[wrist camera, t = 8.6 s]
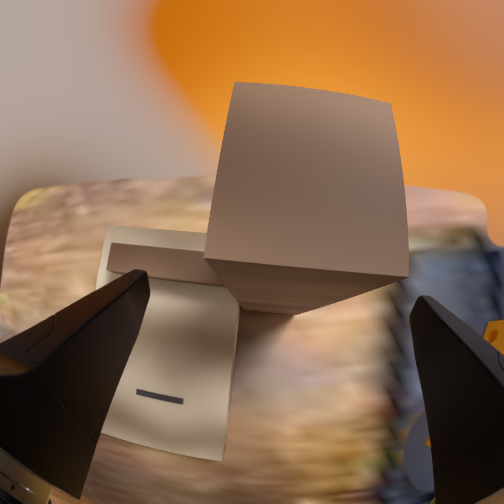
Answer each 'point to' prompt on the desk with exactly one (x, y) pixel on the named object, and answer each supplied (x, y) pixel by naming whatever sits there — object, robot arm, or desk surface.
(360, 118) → the tan upright block
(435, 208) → the desk surface
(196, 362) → the pine board
